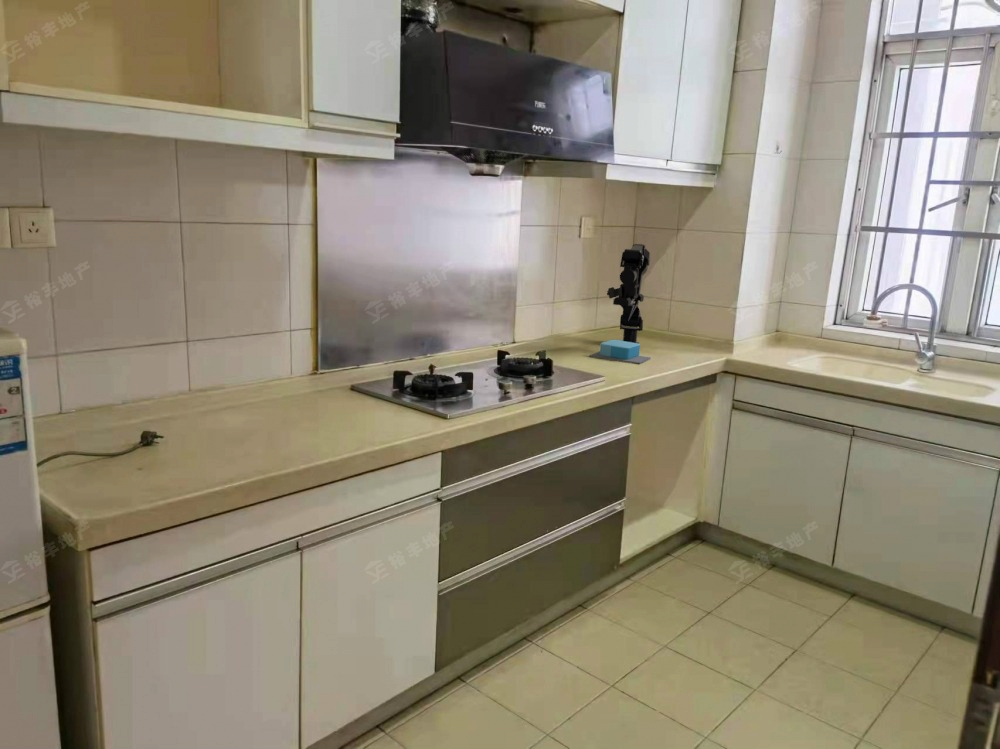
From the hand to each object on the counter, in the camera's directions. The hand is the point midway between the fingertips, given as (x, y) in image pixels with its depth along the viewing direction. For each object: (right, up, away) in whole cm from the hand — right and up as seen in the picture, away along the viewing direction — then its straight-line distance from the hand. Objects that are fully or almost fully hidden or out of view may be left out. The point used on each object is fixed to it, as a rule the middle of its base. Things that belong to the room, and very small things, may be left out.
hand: (627, 320), depth 298 cm
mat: (-5, -15, -12) cm, 20 cm away
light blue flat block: (-1, -11, -6) cm, 12 cm away
